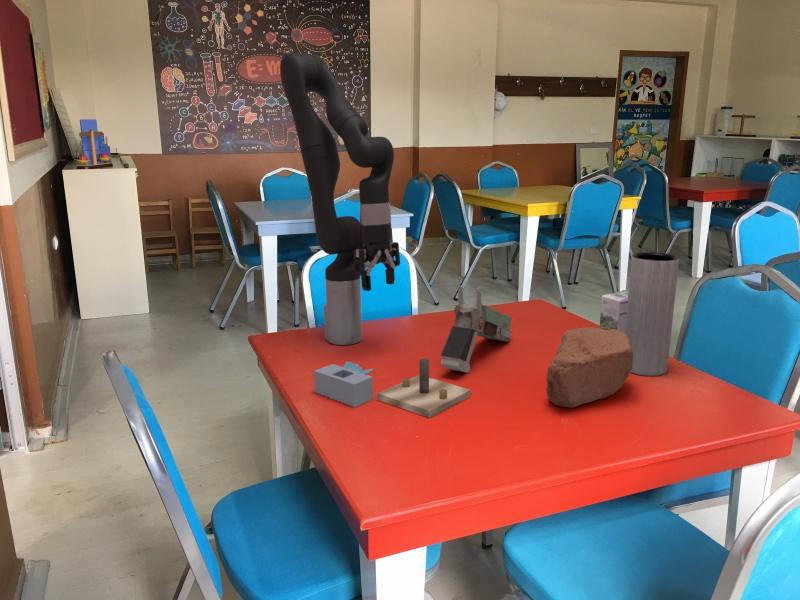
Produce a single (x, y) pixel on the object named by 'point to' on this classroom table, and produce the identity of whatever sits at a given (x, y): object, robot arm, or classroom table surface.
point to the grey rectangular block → (344, 385)
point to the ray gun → (472, 331)
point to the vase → (651, 311)
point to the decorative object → (356, 368)
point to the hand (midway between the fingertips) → (378, 287)
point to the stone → (588, 366)
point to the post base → (424, 393)
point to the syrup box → (613, 312)
